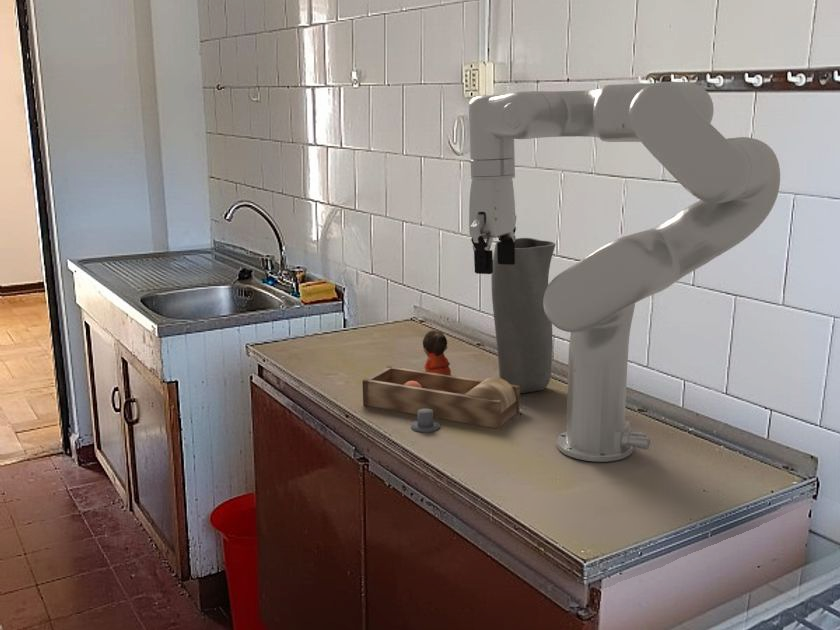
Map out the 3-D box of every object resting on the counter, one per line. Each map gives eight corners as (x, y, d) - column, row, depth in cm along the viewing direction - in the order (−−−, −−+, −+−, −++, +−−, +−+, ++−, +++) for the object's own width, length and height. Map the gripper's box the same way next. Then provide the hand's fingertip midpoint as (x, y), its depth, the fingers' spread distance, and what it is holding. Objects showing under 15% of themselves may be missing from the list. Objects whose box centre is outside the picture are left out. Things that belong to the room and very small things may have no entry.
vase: (506, 402, 167) (508, 249, 160) (482, 383, 179) (482, 240, 171) (563, 395, 171) (567, 245, 164) (535, 376, 182) (538, 236, 175)
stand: (444, 424, 156) (444, 408, 156) (431, 434, 152) (431, 418, 151) (419, 420, 159) (419, 404, 158) (405, 429, 154) (405, 413, 154)
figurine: (458, 386, 177) (458, 330, 174) (440, 393, 173) (439, 335, 170) (435, 380, 181) (435, 325, 178) (417, 386, 177) (416, 330, 174)
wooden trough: (519, 418, 163) (519, 378, 161) (498, 437, 155) (499, 394, 153) (389, 397, 176) (388, 359, 174) (363, 412, 167) (362, 373, 165)
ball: (429, 394, 168) (413, 400, 170) (420, 375, 168) (404, 381, 170) (419, 400, 164) (403, 406, 166) (410, 381, 164) (394, 387, 166)
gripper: (493, 166, 156) (495, 260, 160) (450, 173, 142) (454, 276, 145) (531, 166, 153) (533, 261, 156) (492, 173, 138) (495, 278, 142)
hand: (495, 268), depth 151 cm, fingers open, 9 cm apart
